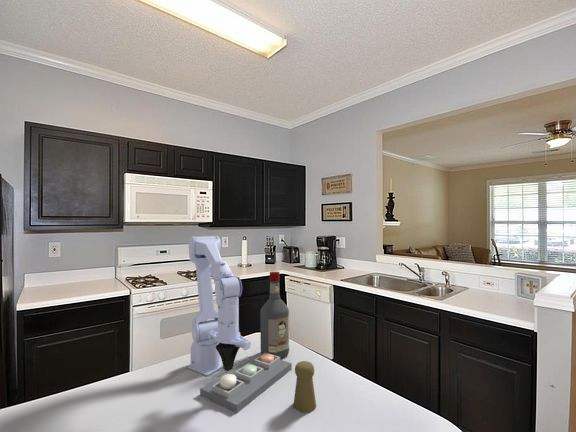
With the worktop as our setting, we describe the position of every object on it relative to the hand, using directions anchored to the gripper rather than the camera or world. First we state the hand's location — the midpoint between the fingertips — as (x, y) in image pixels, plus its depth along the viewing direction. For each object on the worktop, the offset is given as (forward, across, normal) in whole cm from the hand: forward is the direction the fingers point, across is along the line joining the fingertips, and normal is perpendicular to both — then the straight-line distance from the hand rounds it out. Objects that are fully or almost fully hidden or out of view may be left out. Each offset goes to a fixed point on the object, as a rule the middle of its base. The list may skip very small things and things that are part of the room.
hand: (228, 369), depth 82 cm
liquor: (+8, +4, -28) cm, 29 cm away
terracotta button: (+5, 0, -18) cm, 19 cm away
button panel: (+7, 0, -9) cm, 12 cm away
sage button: (+5, 0, -9) cm, 10 cm away
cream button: (+4, 0, 0) cm, 4 cm away
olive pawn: (+8, -20, -8) cm, 23 cm away
